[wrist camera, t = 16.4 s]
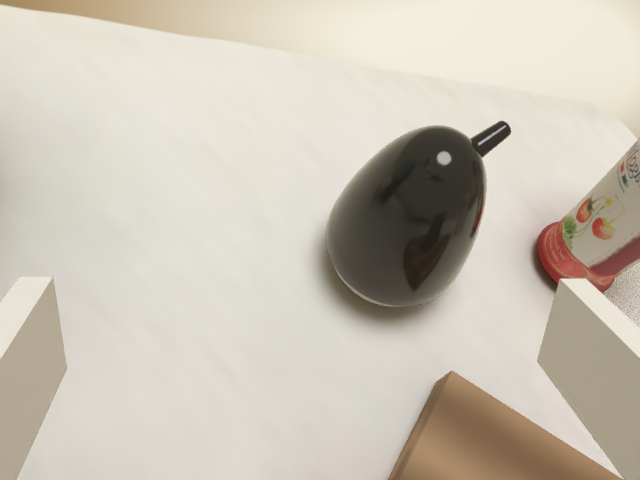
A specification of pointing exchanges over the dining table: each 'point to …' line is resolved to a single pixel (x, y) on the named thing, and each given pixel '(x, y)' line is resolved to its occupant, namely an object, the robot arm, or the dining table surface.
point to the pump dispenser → (412, 215)
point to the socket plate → (485, 442)
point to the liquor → (598, 229)
